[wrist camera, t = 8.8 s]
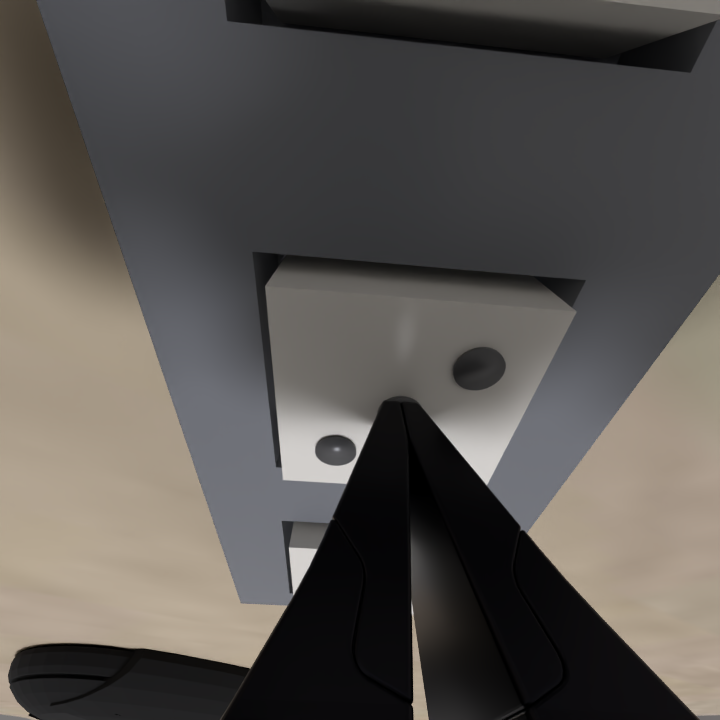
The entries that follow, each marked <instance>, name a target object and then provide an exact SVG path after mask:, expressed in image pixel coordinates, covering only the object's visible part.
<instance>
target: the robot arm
mask: <svg viewBox="0 0 720 720" xmlns="http://www.w3.org/2000/svg"><path fill="white" fill-rule="evenodd" d="M520 530H521V526H520V525H519V524H518V522H517V521H516V520H515V519H514V518H513V516H512V515H511V514H510V513H509V511H508V510H507V509H506V508H505V507H504V505H503V504H502V503H501V502H500V501H499V499H498V498H497V497H496V496H495V495H494V493H493V492H492V491H491V490H490V489H489V487H488V486H487V485H486V484H485V483H484V481H483V480H482V479H481V478H480V477H479V475H478V474H477V473H476V472H475V470H474V469H473V468H472V467H471V466H470V464H469V463H468V462H467V461H466V460H465V458H464V457H463V456H462V455H461V454H460V452H459V451H458V450H457V449H456V448H455V446H454V445H453V444H452V443H451V442H450V440H449V439H448V438H447V437H446V436H445V434H444V433H443V432H442V431H441V430H440V428H439V427H438V426H437V425H436V423H435V422H434V421H433V420H432V419H431V417H430V416H429V415H428V414H427V413H426V411H425V410H424V409H423V408H422V407H421V405H420V404H419V403H417V402H406V401H403V402H401V403H400V402H399V401H392V400H384V401H383V402H382V404H381V406H380V408H379V411H378V413H377V415H376V418H375V420H374V422H373V425H372V427H371V429H370V431H369V434H368V436H367V438H366V441H365V443H364V445H363V448H362V450H361V452H360V454H359V457H358V459H357V461H356V464H355V466H354V468H353V470H352V473H351V475H350V477H349V480H348V482H347V484H346V486H345V489H344V491H343V493H342V496H341V498H340V500H339V503H338V505H337V507H336V509H335V512H334V514H333V516H332V520H330V522H329V525H328V527H327V529H326V532H325V534H324V536H323V539H322V541H321V543H320V545H319V547H318V549H317V551H316V553H315V555H314V557H313V560H312V562H311V564H310V566H309V568H308V570H307V572H306V573H305V575H304V577H303V579H302V581H301V582H300V584H299V586H298V588H297V590H296V592H295V593H294V595H293V597H292V599H291V601H290V603H289V604H288V606H287V608H286V609H285V611H284V613H283V614H282V616H281V618H280V620H279V621H278V623H277V625H276V626H275V628H274V630H273V631H272V633H271V635H270V637H269V638H268V640H267V642H266V643H265V645H264V647H263V648H262V650H261V652H260V654H259V655H258V657H257V659H256V660H255V662H254V664H253V665H252V667H251V669H250V671H249V672H248V674H247V676H246V677H245V679H244V681H243V682H242V684H241V686H240V687H239V689H238V691H237V693H236V694H235V696H234V698H233V699H232V701H231V703H230V704H229V706H228V707H227V709H226V711H225V712H224V714H223V716H222V717H221V719H220V720H413V707H412V705H411V704H412V703H413V655H412V607H413V613H414V620H415V627H416V634H417V641H418V648H419V655H420V662H421V669H422V675H423V682H424V689H425V696H426V703H427V710H428V717H429V720H700V719H699V718H698V717H697V716H696V715H695V714H694V713H693V712H692V711H691V710H690V709H689V708H688V707H687V706H686V705H685V704H684V703H683V702H682V701H681V700H680V699H679V698H678V697H677V696H676V695H675V694H674V693H673V692H672V691H671V689H670V688H669V687H668V686H667V685H666V684H665V683H664V682H663V681H662V680H661V679H660V678H659V677H658V676H657V675H656V674H655V673H654V672H653V671H652V670H651V669H650V668H649V667H648V665H647V664H646V663H645V662H644V661H643V660H642V659H641V658H640V657H639V656H638V655H637V654H636V653H635V652H634V651H633V650H632V649H631V648H630V647H629V646H628V645H627V644H626V643H625V641H624V640H623V639H622V638H621V637H620V636H619V635H618V634H617V633H616V632H615V631H614V630H613V629H612V628H611V627H610V626H609V625H608V624H607V623H606V622H605V621H604V620H603V619H602V618H601V616H600V615H599V614H598V613H597V612H596V611H595V610H594V609H593V608H592V607H591V606H590V605H589V604H588V602H587V601H586V600H585V599H584V598H583V597H582V596H581V595H580V594H579V593H578V592H577V591H576V590H575V588H574V587H573V586H572V585H571V584H570V583H569V582H568V581H567V580H566V579H565V578H564V576H563V575H562V574H561V573H560V572H559V571H558V569H557V568H556V567H555V566H554V565H553V564H552V562H551V561H550V560H549V559H548V558H547V557H546V556H545V554H544V553H543V552H542V551H541V550H540V549H539V547H538V546H537V545H536V544H535V543H534V541H533V540H532V539H531V538H530V537H529V535H528V534H527V533H526V532H525V531H524V530H521V531H520Z"/></svg>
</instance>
